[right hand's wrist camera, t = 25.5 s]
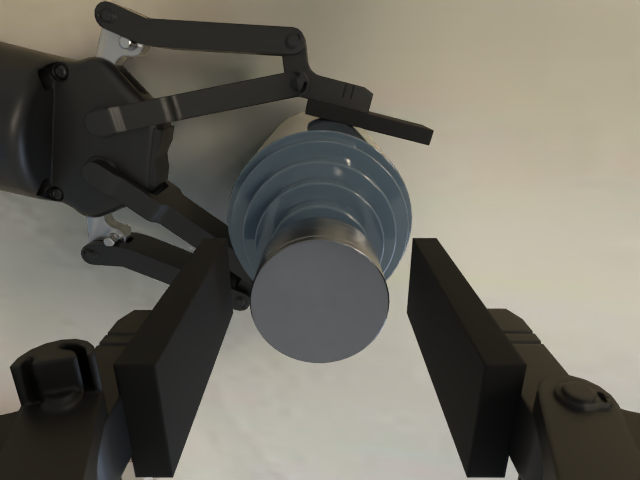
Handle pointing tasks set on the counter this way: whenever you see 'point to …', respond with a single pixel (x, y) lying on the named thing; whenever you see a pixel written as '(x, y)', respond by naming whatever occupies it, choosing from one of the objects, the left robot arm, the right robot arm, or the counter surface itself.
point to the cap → (319, 291)
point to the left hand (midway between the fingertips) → (400, 211)
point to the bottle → (319, 189)
